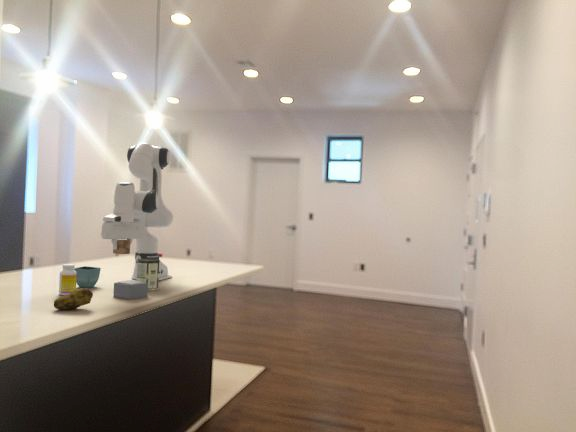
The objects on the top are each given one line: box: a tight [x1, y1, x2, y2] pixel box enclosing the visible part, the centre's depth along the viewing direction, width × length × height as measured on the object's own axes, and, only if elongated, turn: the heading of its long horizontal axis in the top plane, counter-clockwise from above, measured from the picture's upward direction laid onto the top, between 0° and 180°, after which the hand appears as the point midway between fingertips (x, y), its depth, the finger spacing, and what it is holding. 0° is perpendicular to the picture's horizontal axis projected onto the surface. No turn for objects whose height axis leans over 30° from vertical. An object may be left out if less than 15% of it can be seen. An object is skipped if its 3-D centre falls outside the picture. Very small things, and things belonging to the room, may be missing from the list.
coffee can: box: [136, 259, 161, 292], centre depth 235 cm, size 10×10×14 cm
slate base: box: [112, 279, 149, 301], centre depth 214 cm, size 10×10×6 cm
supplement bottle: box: [58, 263, 77, 296], centre depth 211 cm, size 7×7×13 cm
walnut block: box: [112, 239, 131, 255], centre depth 218 cm, size 5×5×6 cm
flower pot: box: [74, 266, 102, 289], centre depth 232 cm, size 9×9×9 cm
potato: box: [53, 287, 94, 311], centre depth 184 cm, size 8×13×8 cm, turn 99°
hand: (121, 249), depth 218 cm, fingers closed on walnut block, 5 cm apart
